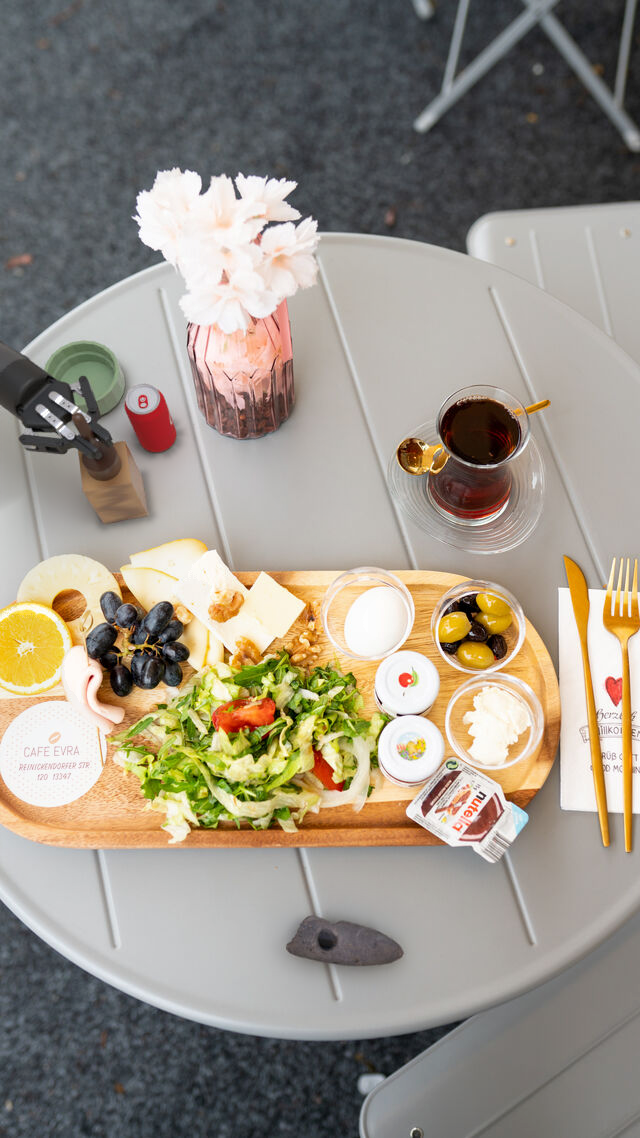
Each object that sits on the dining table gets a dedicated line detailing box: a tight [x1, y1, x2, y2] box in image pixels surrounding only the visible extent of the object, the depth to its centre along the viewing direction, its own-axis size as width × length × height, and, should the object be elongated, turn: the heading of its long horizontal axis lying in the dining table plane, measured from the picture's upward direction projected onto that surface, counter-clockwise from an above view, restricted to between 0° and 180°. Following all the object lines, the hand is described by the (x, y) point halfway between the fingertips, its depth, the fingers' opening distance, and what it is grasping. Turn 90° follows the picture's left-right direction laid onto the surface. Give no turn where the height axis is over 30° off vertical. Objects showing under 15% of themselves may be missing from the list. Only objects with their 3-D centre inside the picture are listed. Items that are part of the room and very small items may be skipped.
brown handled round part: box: [71, 412, 122, 481], centre depth 113 cm, size 5×5×14 cm
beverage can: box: [124, 383, 177, 453], centre depth 129 cm, size 6×6×12 cm
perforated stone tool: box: [285, 915, 405, 967], centre depth 105 cm, size 15×5×7 cm, turn 79°
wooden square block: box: [77, 440, 149, 525], centre depth 125 cm, size 7×7×12 cm
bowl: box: [43, 340, 126, 416], centre depth 135 cm, size 12×12×5 cm
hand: (104, 449), depth 111 cm, fingers closed on brown handled round part
